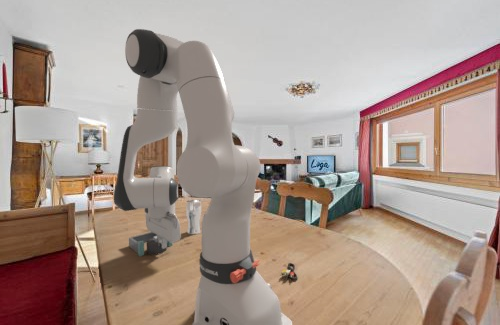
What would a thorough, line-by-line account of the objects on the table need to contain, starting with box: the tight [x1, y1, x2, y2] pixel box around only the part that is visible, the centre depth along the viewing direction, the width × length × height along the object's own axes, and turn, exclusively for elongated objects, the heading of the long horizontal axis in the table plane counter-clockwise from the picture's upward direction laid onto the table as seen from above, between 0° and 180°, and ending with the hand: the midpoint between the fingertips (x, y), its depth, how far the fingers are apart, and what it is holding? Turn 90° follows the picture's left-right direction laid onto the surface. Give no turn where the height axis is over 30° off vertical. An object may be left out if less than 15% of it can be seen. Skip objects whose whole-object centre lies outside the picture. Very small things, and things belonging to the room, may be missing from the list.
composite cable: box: [279, 262, 298, 282], centre depth 66 cm, size 10×5×2 cm, turn 155°
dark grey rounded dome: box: [146, 236, 168, 256], centre depth 81 cm, size 7×7×5 cm
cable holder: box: [128, 231, 173, 257], centre depth 85 cm, size 12×12×5 cm
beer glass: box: [185, 199, 202, 235], centre depth 100 cm, size 7×7×15 cm
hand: (162, 247), depth 78 cm, fingers closed
